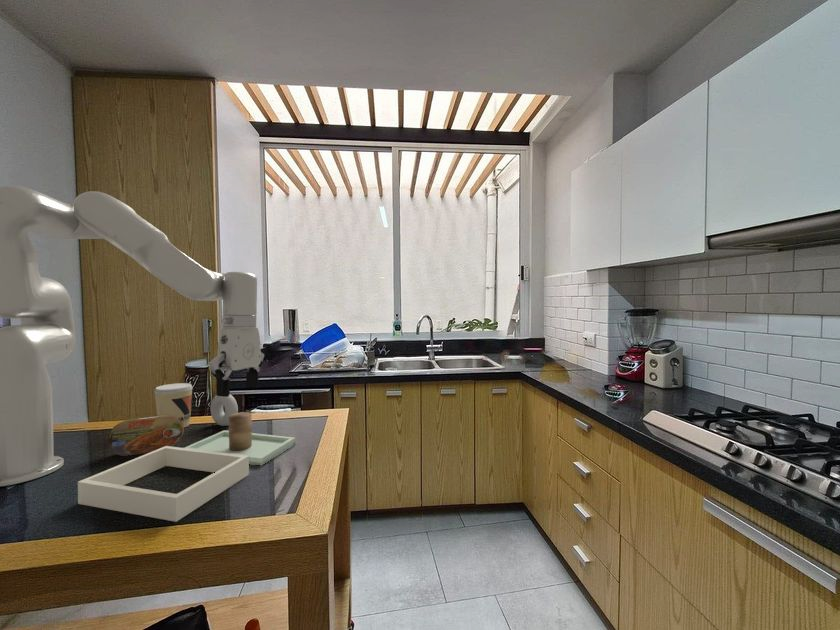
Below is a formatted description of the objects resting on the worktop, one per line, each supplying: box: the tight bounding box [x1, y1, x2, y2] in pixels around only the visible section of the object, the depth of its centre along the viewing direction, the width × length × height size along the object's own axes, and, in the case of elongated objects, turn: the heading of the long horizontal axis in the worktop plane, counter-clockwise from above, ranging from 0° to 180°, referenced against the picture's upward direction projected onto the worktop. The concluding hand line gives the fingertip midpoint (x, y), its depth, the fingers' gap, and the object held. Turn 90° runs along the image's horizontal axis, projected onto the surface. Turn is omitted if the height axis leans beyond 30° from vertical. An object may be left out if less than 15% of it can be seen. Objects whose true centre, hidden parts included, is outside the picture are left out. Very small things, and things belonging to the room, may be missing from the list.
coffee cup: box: [154, 382, 194, 428], centre depth 105 cm, size 9×9×12 cm
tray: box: [184, 429, 296, 467], centre depth 88 cm, size 22×13×2 cm, turn 76°
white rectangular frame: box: [77, 446, 250, 523], centre depth 69 cm, size 22×17×4 cm
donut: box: [209, 394, 239, 427], centre depth 106 cm, size 10×4×10 cm, turn 65°
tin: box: [106, 415, 185, 457], centre depth 87 cm, size 15×3×8 cm, turn 114°
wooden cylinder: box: [228, 411, 253, 451], centre depth 88 cm, size 5×5×8 cm
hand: (238, 391), depth 87 cm, fingers open, 9 cm apart
